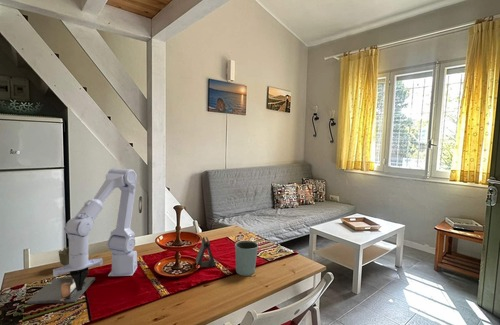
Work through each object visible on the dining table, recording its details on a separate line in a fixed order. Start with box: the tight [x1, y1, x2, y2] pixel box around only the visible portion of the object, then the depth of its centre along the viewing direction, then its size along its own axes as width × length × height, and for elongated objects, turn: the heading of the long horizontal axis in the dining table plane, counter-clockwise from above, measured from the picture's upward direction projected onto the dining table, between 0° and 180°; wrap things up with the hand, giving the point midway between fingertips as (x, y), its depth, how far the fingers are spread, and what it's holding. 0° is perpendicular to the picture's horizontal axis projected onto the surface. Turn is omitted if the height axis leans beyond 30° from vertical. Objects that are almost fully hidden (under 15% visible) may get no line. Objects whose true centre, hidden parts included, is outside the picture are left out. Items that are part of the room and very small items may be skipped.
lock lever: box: [61, 280, 85, 297], centre depth 96 cm, size 4×12×4 cm, turn 8°
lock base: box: [26, 276, 96, 305], centre depth 97 cm, size 16×16×1 cm
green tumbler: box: [234, 240, 259, 276], centre depth 117 cm, size 10×10×12 cm
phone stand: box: [195, 236, 217, 269], centre depth 122 cm, size 9×6×12 cm, turn 107°
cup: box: [57, 246, 69, 266], centre depth 114 cm, size 8×7×8 cm
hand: (79, 289), depth 93 cm, fingers closed
